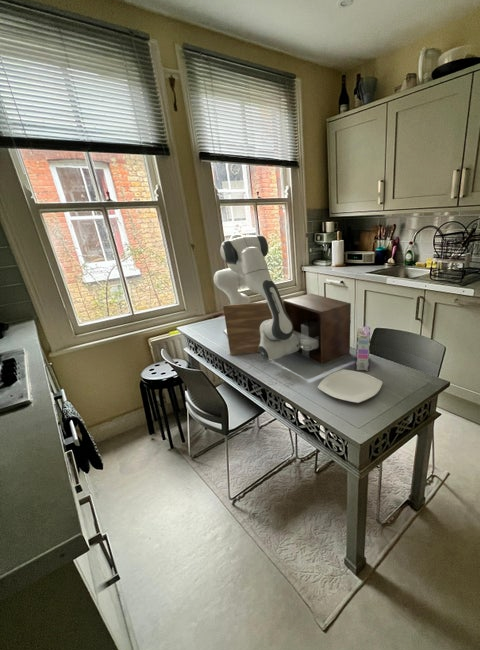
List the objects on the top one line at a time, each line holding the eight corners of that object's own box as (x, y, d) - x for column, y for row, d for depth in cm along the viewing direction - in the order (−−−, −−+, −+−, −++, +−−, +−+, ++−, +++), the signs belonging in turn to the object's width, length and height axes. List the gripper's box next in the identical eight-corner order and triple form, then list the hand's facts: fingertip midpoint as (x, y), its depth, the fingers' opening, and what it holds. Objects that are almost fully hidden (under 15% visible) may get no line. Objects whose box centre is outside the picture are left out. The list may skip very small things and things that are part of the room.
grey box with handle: (302, 352, 158) (300, 320, 151) (315, 347, 163) (314, 316, 156) (309, 355, 154) (308, 323, 147) (322, 350, 159) (322, 318, 152)
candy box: (368, 371, 139) (370, 337, 133) (355, 370, 141) (356, 336, 134) (369, 358, 152) (370, 325, 145) (356, 357, 153) (357, 325, 146)
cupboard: (322, 366, 146) (321, 311, 135) (286, 349, 166) (283, 300, 155) (349, 355, 156) (350, 303, 145) (312, 340, 176) (310, 293, 165)
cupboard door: (231, 349, 168) (224, 302, 157) (284, 344, 171) (280, 297, 161) (230, 355, 162) (223, 305, 151) (285, 349, 165) (281, 300, 155)
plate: (360, 411, 112) (360, 407, 111) (309, 391, 126) (309, 387, 125) (389, 385, 128) (390, 381, 127) (341, 369, 142) (342, 366, 141)
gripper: (304, 343, 139) (327, 335, 147) (278, 331, 154) (300, 325, 162) (305, 356, 142) (327, 347, 150) (279, 343, 157) (300, 336, 164)
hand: (313, 335), depth 156 cm, fingers closed on grey box with handle, 6 cm apart
